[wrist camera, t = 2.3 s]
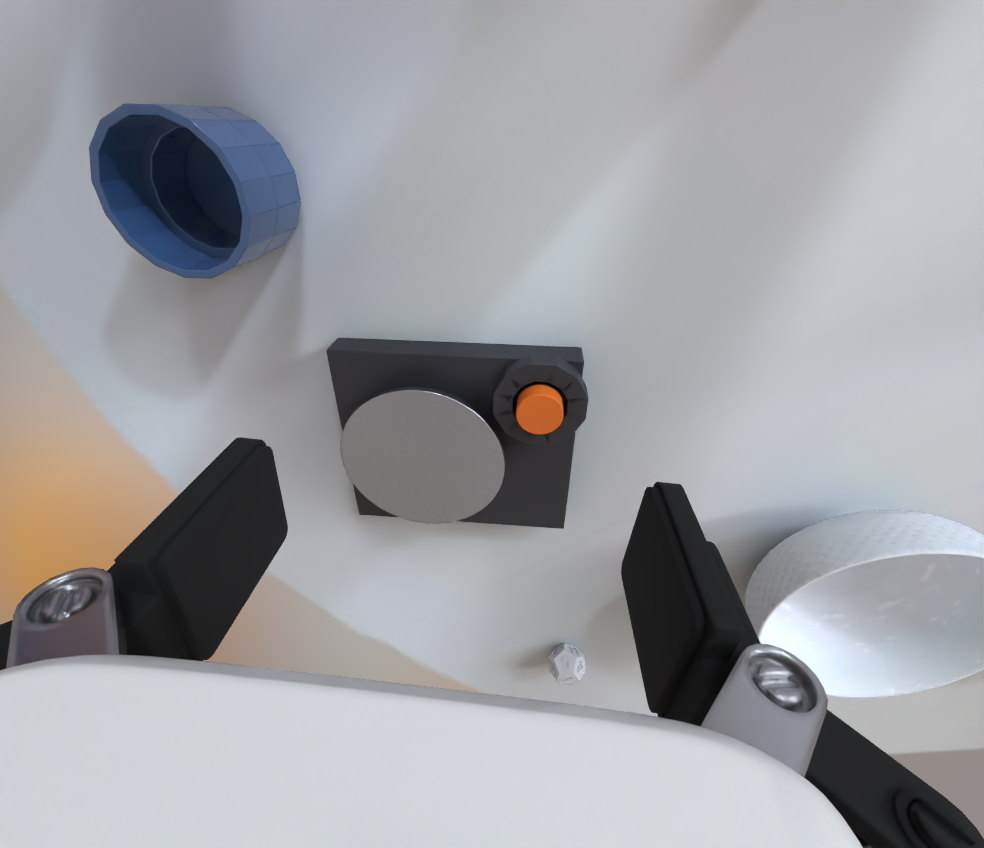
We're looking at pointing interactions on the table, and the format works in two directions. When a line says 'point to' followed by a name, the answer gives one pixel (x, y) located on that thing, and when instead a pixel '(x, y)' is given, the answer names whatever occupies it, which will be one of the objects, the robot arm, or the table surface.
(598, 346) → the table surface
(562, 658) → the game die
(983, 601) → the cereal bowl
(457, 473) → the pan
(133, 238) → the blue cup
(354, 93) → the table surface
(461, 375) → the scale
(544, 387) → the button
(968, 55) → the table surface
